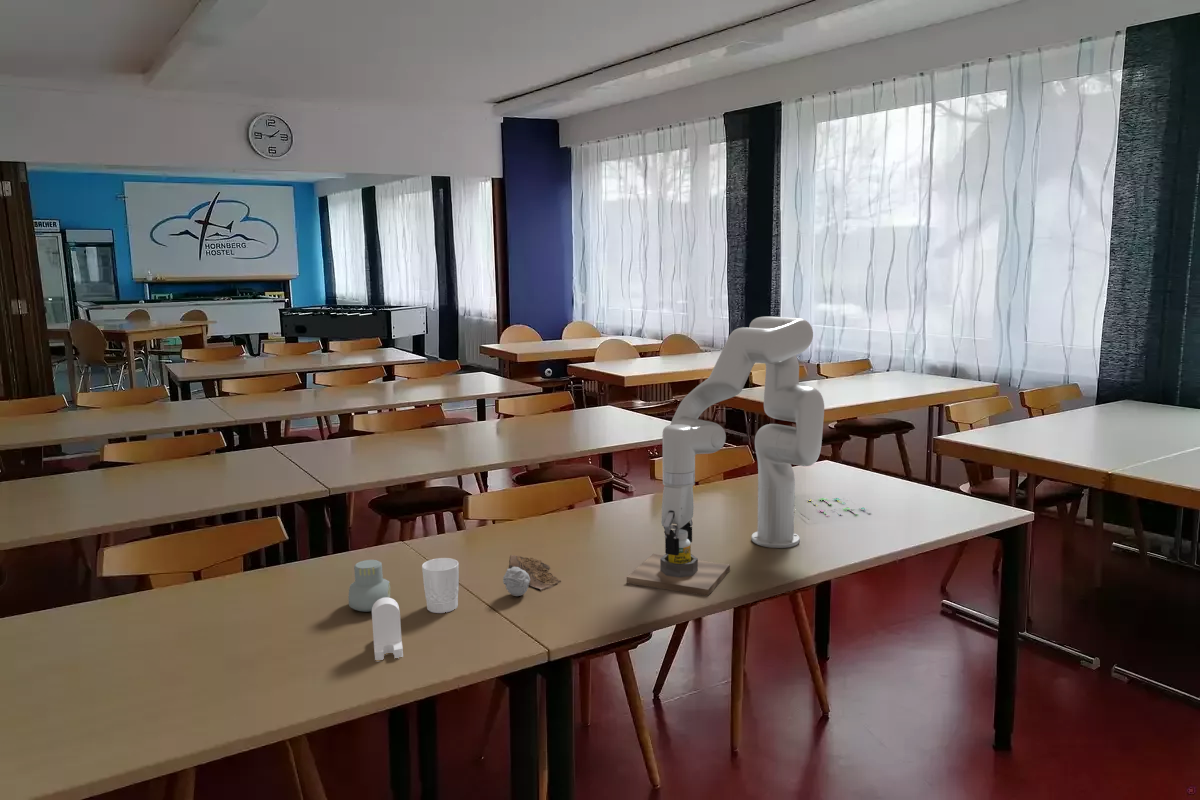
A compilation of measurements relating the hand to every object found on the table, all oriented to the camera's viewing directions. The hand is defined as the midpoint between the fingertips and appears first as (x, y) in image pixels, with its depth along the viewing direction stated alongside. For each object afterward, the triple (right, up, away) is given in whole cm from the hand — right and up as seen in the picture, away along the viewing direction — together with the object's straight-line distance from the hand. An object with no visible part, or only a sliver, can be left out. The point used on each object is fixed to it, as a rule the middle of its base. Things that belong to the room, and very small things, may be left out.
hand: (679, 547), depth 200 cm
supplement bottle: (0, -6, +1) cm, 6 cm away
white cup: (-54, -11, -14) cm, 56 cm away
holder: (0, -7, +1) cm, 7 cm away
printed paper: (+53, +2, +55) cm, 77 cm away
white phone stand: (-61, -14, -34) cm, 71 cm away
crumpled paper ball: (-38, -10, -8) cm, 40 cm away
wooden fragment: (-36, -7, +6) cm, 37 cm away
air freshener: (-70, -11, -13) cm, 72 cm away
